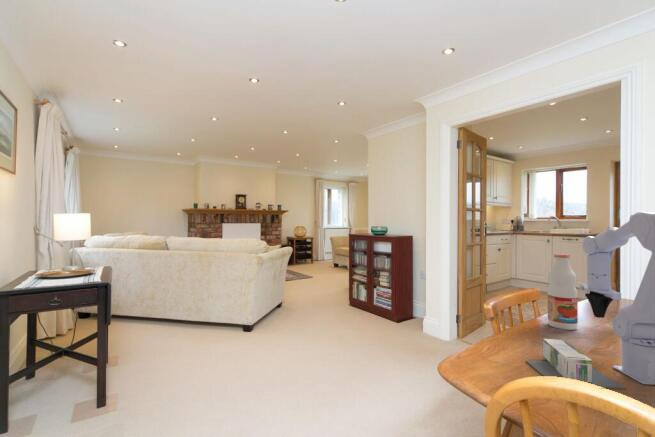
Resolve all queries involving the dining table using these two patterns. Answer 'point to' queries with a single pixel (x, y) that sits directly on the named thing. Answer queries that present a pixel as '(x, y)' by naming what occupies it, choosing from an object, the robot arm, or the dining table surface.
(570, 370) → the syrup box
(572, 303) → the fruit juice
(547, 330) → the dining table surface
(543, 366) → the slate mat
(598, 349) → the dining table surface
